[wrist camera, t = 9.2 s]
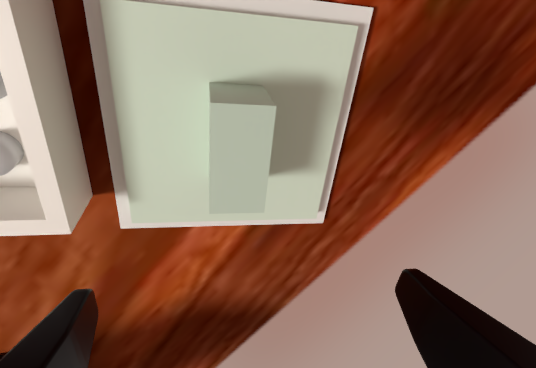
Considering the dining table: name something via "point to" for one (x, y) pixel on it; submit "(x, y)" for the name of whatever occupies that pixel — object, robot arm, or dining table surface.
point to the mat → (262, 3)
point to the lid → (224, 110)
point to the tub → (37, 126)
